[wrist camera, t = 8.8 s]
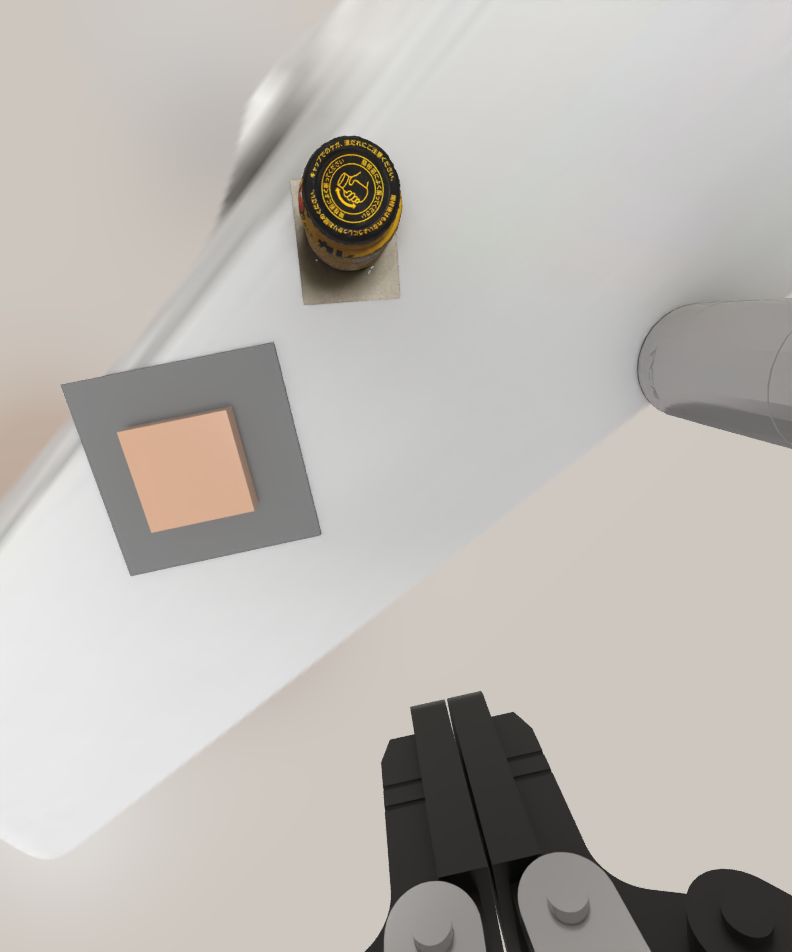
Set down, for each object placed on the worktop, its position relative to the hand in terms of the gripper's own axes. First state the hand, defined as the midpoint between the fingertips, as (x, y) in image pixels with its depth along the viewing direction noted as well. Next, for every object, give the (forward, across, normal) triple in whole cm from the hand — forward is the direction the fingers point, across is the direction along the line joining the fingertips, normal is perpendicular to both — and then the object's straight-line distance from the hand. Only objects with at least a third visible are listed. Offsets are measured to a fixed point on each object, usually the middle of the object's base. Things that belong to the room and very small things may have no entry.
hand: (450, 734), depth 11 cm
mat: (+34, +14, 0) cm, 37 cm away
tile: (+32, +10, 0) cm, 34 cm away
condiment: (+34, -1, -14) cm, 37 cm away
